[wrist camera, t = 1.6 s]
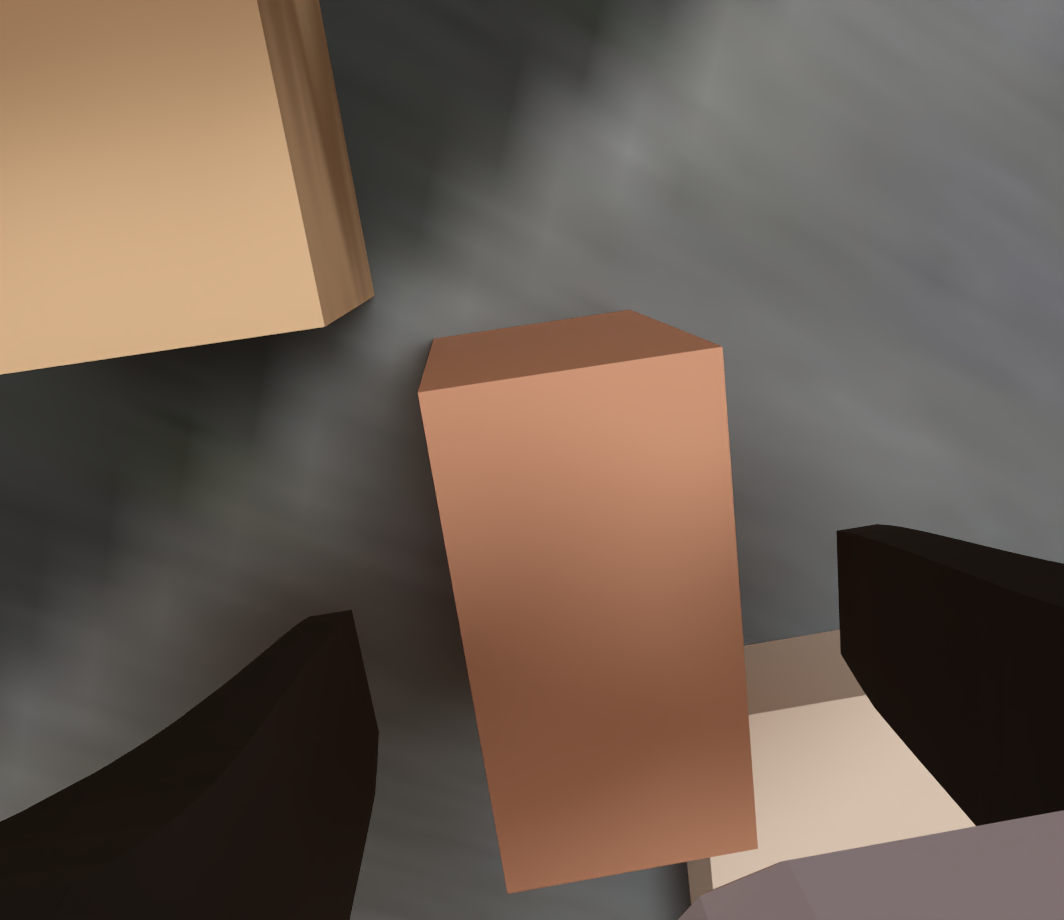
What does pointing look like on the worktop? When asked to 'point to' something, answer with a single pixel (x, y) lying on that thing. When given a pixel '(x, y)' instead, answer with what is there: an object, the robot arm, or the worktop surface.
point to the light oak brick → (169, 178)
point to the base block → (823, 765)
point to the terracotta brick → (596, 590)
